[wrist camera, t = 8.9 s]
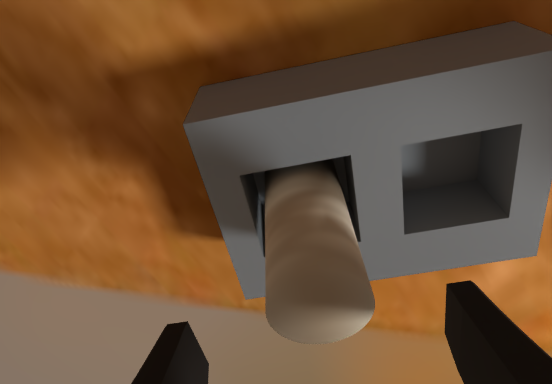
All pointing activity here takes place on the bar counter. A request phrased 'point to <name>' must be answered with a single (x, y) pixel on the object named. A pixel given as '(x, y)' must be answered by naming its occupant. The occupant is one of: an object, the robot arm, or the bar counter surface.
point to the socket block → (393, 149)
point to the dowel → (312, 257)
